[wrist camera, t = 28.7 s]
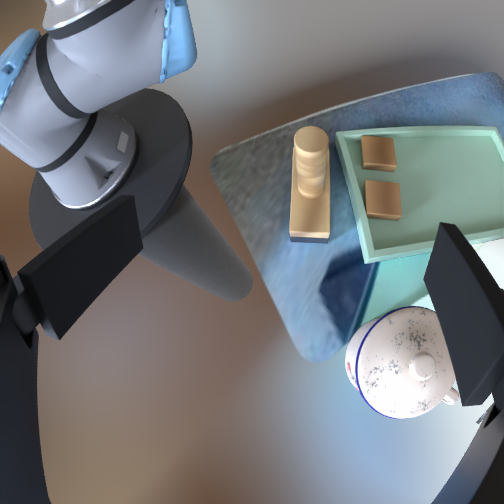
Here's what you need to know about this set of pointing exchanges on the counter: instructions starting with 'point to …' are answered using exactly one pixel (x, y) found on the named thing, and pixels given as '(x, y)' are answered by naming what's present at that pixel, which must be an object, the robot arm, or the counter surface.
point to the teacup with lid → (402, 363)
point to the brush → (310, 187)
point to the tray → (429, 187)
